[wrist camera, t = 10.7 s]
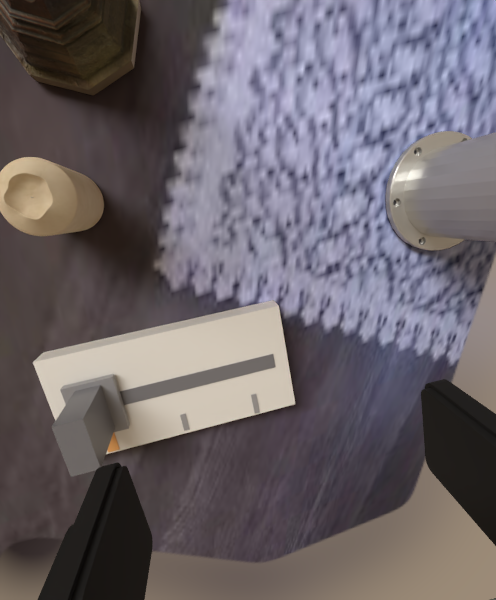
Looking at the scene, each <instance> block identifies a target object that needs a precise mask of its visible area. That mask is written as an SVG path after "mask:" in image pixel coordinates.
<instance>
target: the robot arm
mask: <svg viewBox="0 0 496 600" xmlns="http://www.w3.org/2000/svg"><path fill="white" fill-rule="evenodd" d="M393 201H394V204H393ZM386 210H387V215H388V218H389V221H390V223H391V226H392V228H393V229H394V230H395V232H396V233H397V235H398V236H399V237H400V238H401V239H402V240H403V241H404V242H406V243H408V244H409V245H411V246H413V247H416V248H419V249H424V250H443V249H448V248H451V247H453V246H455V245H458V244H459V243H461V242H462V241H464V240H477V241H488V242H496V133H492V134H488V135H485V136H481V137H477V138H473V139H472V138H471V137H469V136H467V135H465V134H462V133H460V132H454V131H443V132H438V133H434V134H431V135H428V136H426V137H423V138H421V139H419V140H418V141H416V142H415V143H413V144H412V145H410V146H409V147H408V148H407V149H406V150H405V151H404V152H403V153H402V155H401V156H400V157H399V159H398V160H397V161H396V163H395V165H394V167H393V169H392V171H391V173H390V176H389V180H388V183H387V189H386ZM421 399H422V414H423V428H424V443H425V457H426V462H427V465H428V467H429V469H430V470H431V472H432V473H433V474H434V475H435V476H436V478H437V479H438V480H439V481H440V482H441V483H442V484H443V486H444V487H445V488H446V489H447V490H448V491H449V493H450V494H451V495H452V496H453V497H454V498H455V499H456V501H457V502H458V503H459V504H460V505H461V506H462V507H463V509H464V510H465V511H466V512H467V513H468V514H469V516H470V517H471V518H472V519H473V520H474V521H475V523H477V525H478V526H479V527H480V528H481V529H482V531H483V532H484V533H485V534H486V535H487V536H488V537H489V539H490V540H491V541H492V542H493V543H494V544H495V546H496V414H495V413H493V412H492V411H490V410H489V409H488V408H486V407H485V406H483V405H482V404H481V403H479V402H478V401H476V400H475V399H473V398H472V397H471V396H469V395H468V394H466V393H465V392H463V391H462V390H461V389H459V388H458V387H456V386H455V385H453V384H452V383H451V382H449V381H447V380H444V379H443V380H439V381H435V382H431V383H428V384H426V386H425V389H424V390H422V392H421ZM151 553H152V535H151V531H150V528H149V526H148V523H147V520H146V517H145V515H144V512H143V509H142V506H141V504H140V501H139V498H138V495H137V493H136V490H135V487H134V485H133V482H132V479H131V476H130V474H129V471H128V468H127V467H126V466H123V467H121V465H120V464H119V463H114V464H110V465H106V466H102V467H99V468H97V470H96V472H95V475H94V477H93V479H92V482H91V484H90V487H89V489H88V491H87V494H86V496H85V499H84V501H83V504H82V506H81V508H80V511H79V513H78V516H77V518H76V520H75V523H74V524H73V525H72V526H70V527H69V529H68V531H67V532H66V534H65V537H64V539H63V541H62V544H61V546H60V549H59V551H58V553H57V556H56V558H55V560H54V563H53V565H52V567H51V570H50V572H49V574H48V577H47V579H46V581H45V584H44V586H43V588H42V591H41V593H40V595H39V598H38V600H144V599H145V592H146V585H147V579H148V573H149V566H150V559H151ZM491 600H496V598H494V599H491Z"/></svg>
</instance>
